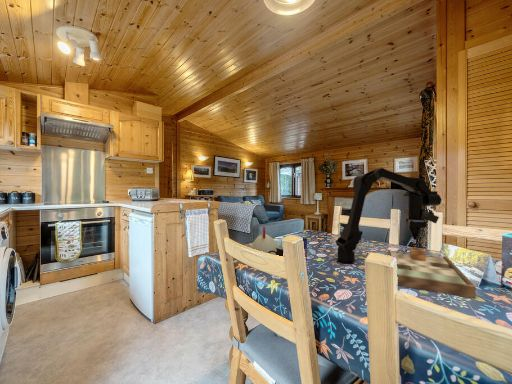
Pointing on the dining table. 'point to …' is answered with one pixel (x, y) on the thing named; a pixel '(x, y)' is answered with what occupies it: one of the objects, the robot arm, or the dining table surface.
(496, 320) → the dining table surface
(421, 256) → the block
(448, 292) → the wooden tray
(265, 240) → the beige cone with rod
